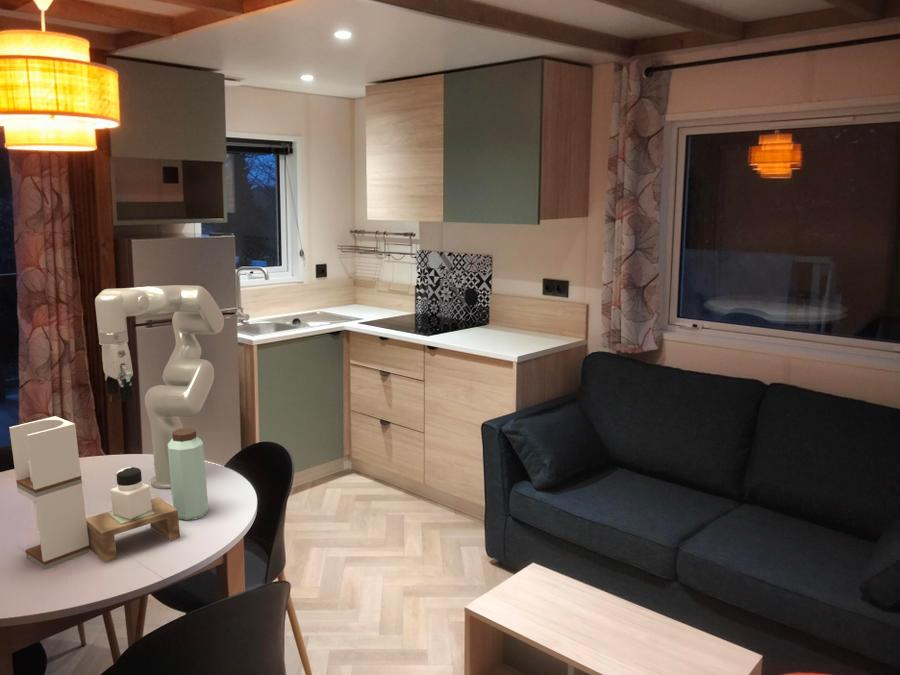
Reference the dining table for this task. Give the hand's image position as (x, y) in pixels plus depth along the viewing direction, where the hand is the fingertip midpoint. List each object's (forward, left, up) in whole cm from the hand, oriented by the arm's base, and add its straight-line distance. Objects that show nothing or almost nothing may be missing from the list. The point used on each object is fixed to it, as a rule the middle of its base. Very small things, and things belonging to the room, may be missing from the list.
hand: (119, 396), depth 227 cm
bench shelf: (+8, +22, -34) cm, 42 cm away
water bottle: (-11, +16, -34) cm, 40 cm away
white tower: (+25, +15, -34) cm, 45 cm away
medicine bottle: (+8, +22, -26) cm, 35 cm away
